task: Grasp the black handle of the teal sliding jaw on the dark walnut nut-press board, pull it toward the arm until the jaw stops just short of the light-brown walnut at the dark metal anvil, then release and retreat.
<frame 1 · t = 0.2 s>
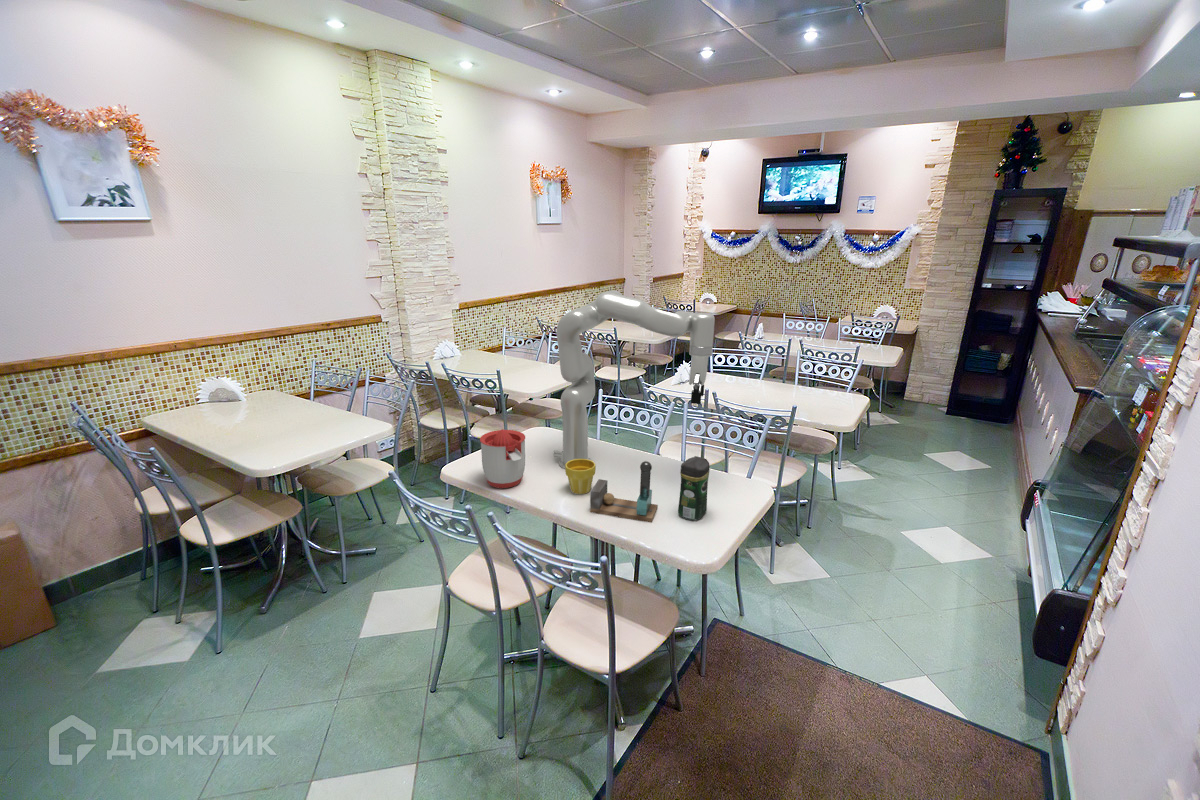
hand: (697, 399, 177), 31 cm above the table, tool pointing down, fingers open, 9 cm apart
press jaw: (645, 485, 160), point 10 cm above the table, slide at 0.0 cm
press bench: (624, 510, 165), on the table
citrus juicer: (506, 483, 183), on the table
coffee jar: (691, 514, 164), on the table
walnut: (608, 508, 167), resting on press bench
plant pot: (580, 490, 178), on the table
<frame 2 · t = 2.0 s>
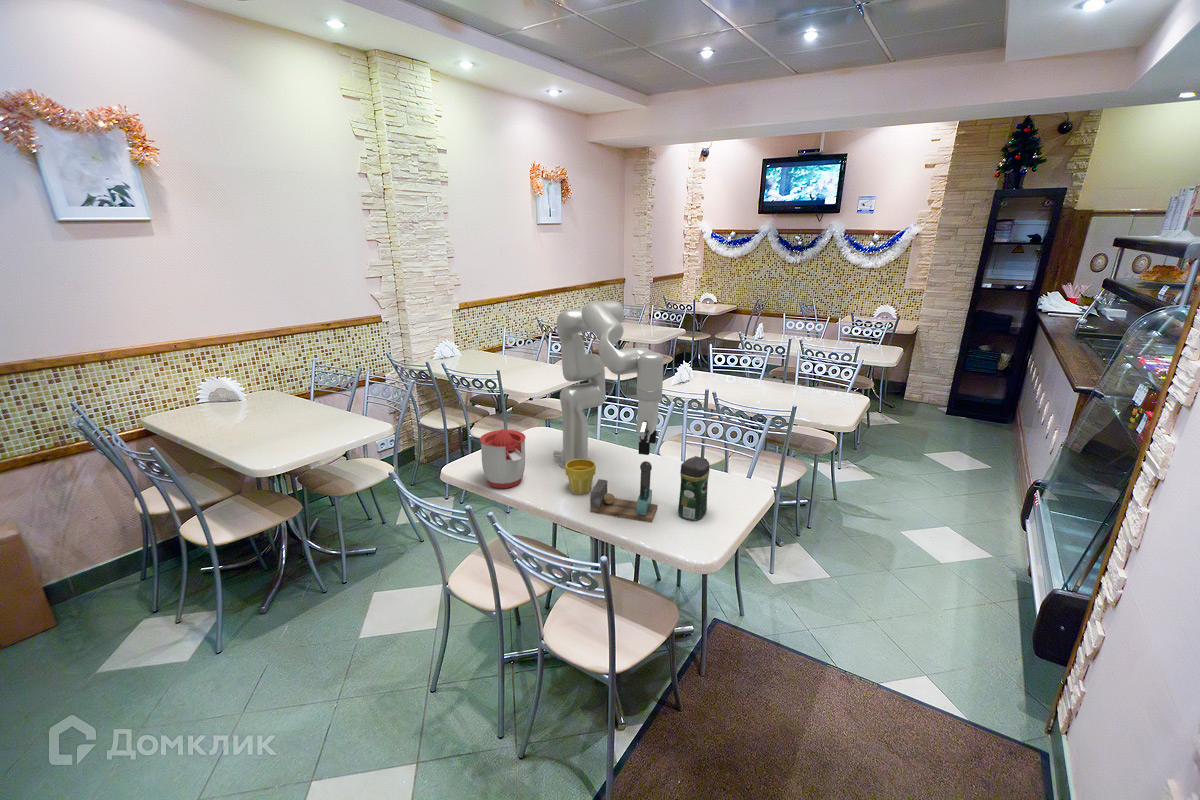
hand: (647, 448, 156), 23 cm above the table, tool pointing down, fingers open, 9 cm apart
nothing on the table moved.
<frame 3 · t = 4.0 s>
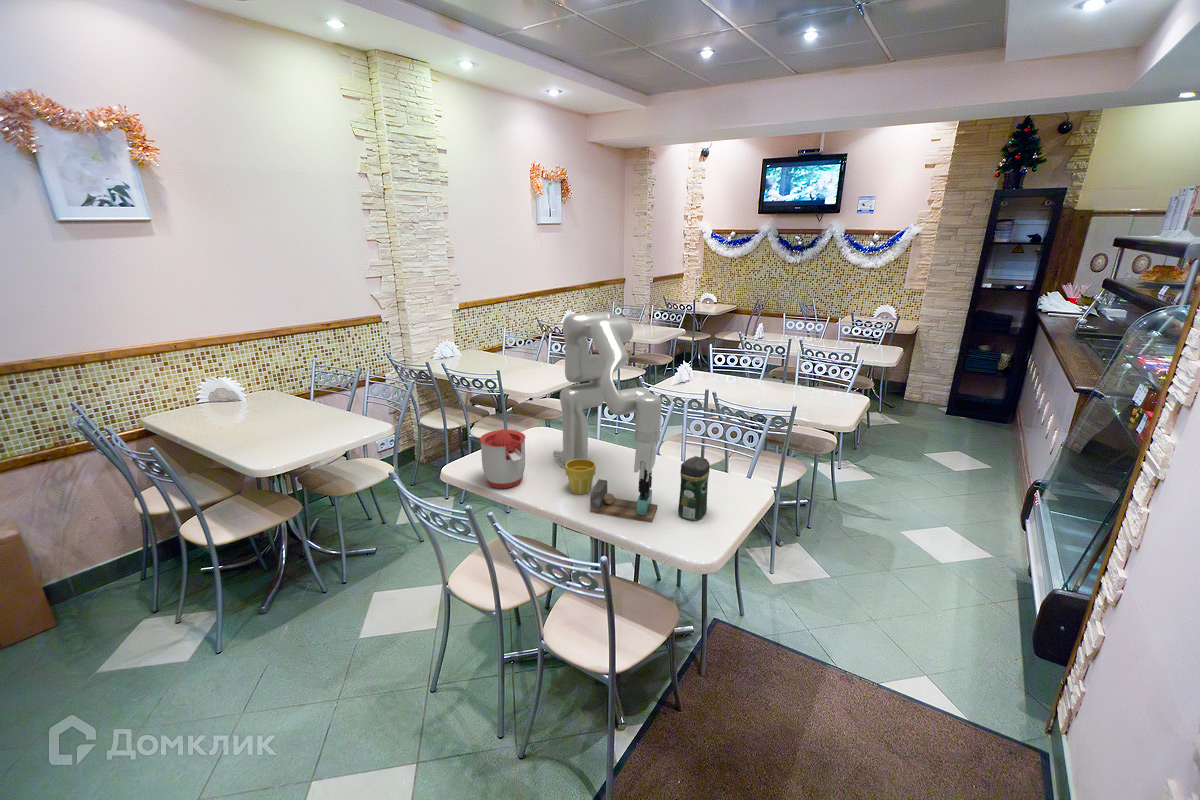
hand: (645, 489, 161), 9 cm above the table, tool pointing down, fingers closed on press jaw, 3 cm apart
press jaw: (645, 485, 160), point 10 cm above the table, slide at 0.0 cm, touching gripper
everything else where it was.
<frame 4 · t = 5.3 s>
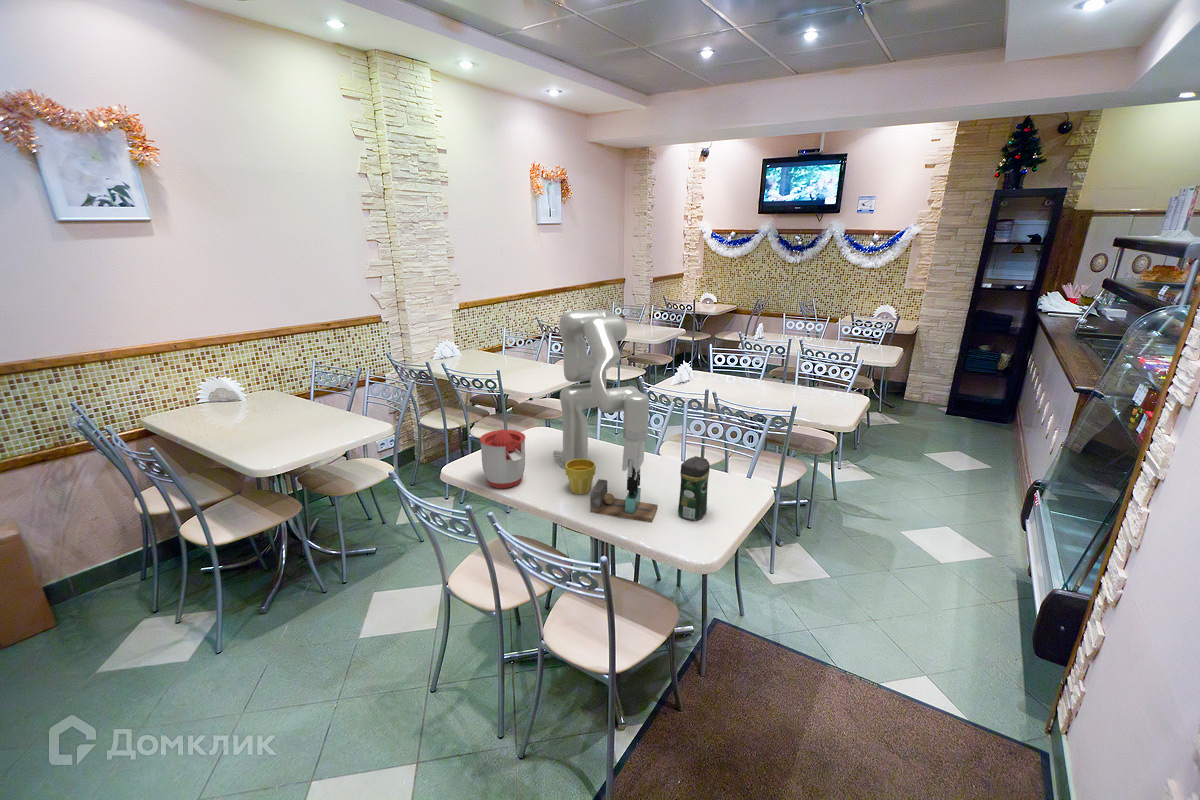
hand: (633, 487, 162), 9 cm above the table, tool pointing down, fingers closed on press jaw, 3 cm apart
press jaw: (633, 483, 161), point 10 cm above the table, slide at 3.7 cm, touching gripper
everything else where it was.
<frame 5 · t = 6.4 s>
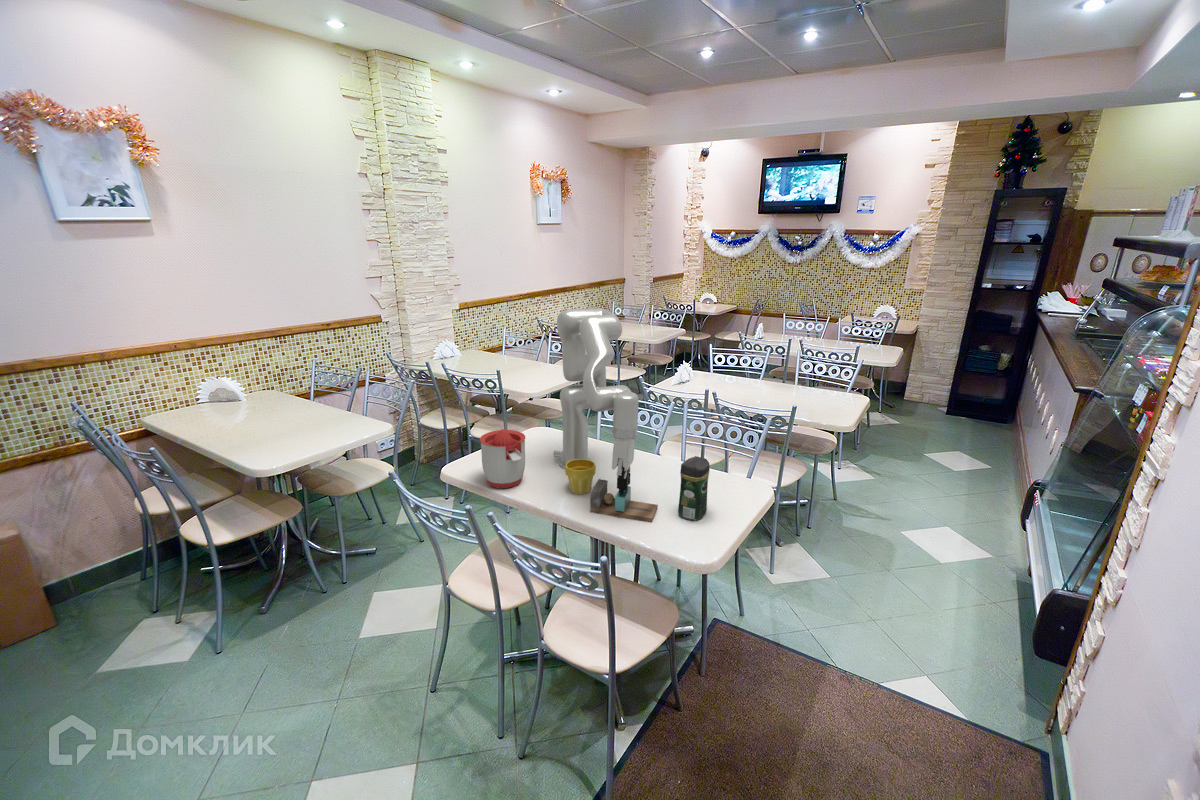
hand: (623, 485, 163), 9 cm above the table, tool pointing down, fingers closed on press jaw, 3 cm apart
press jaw: (623, 482, 162), point 10 cm above the table, slide at 7.0 cm, touching gripper
everything else where it was.
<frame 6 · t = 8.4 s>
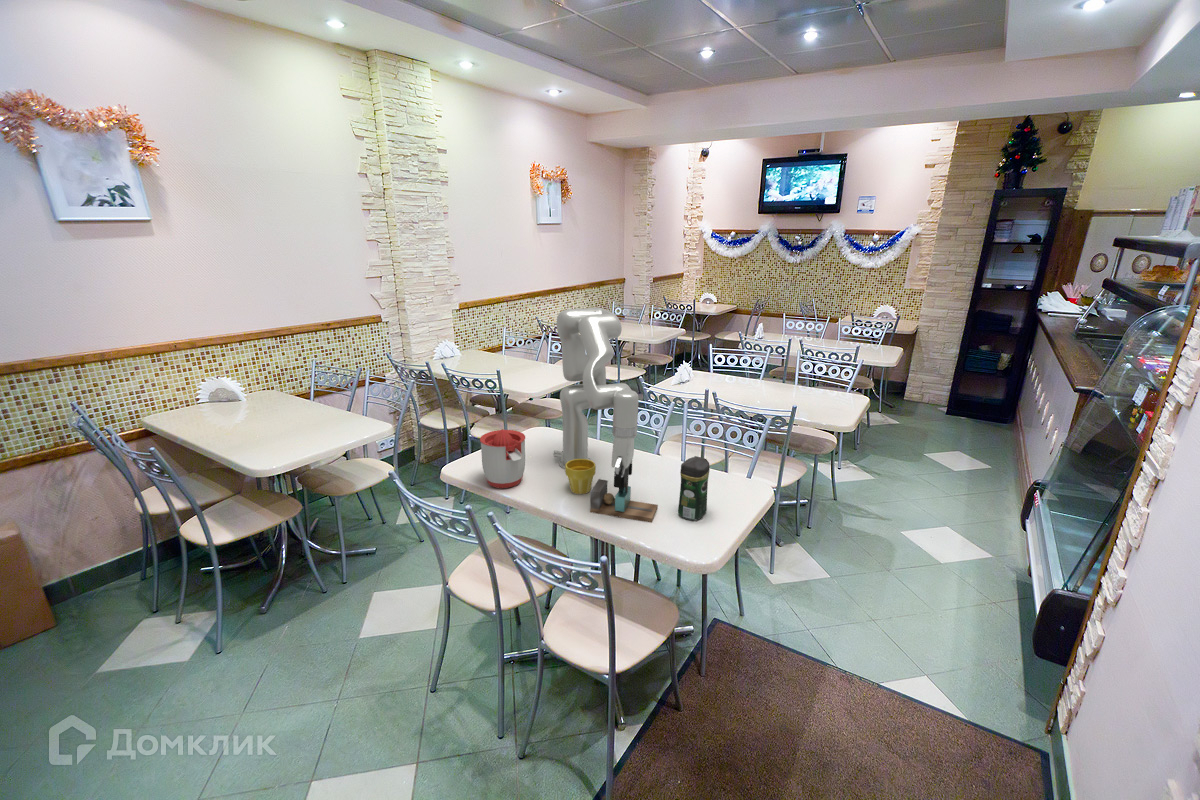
hand: (622, 480, 163), 10 cm above the table, tool pointing down, fingers open, 9 cm apart
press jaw: (623, 482, 162), point 10 cm above the table, slide at 7.0 cm
everything else where it was.
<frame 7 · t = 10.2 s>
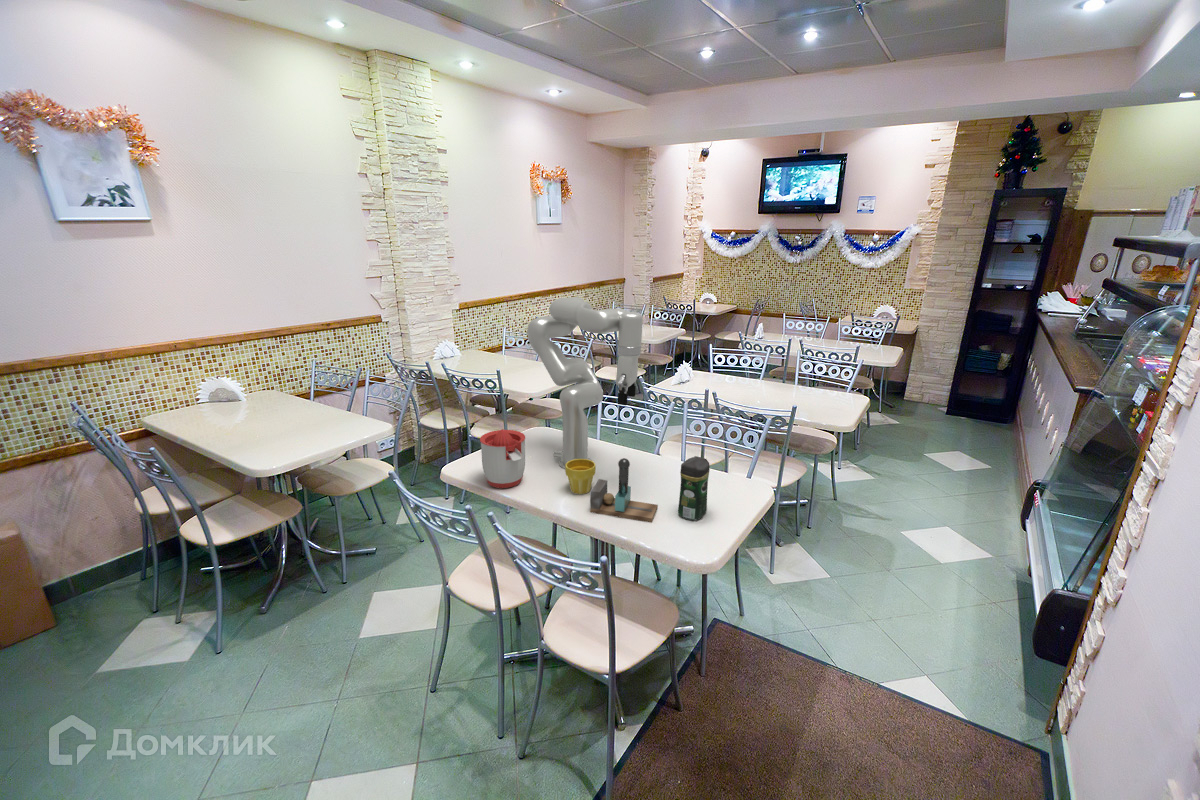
hand: (626, 400, 173), 32 cm above the table, tool pointing down, fingers open, 9 cm apart
nothing on the table moved.
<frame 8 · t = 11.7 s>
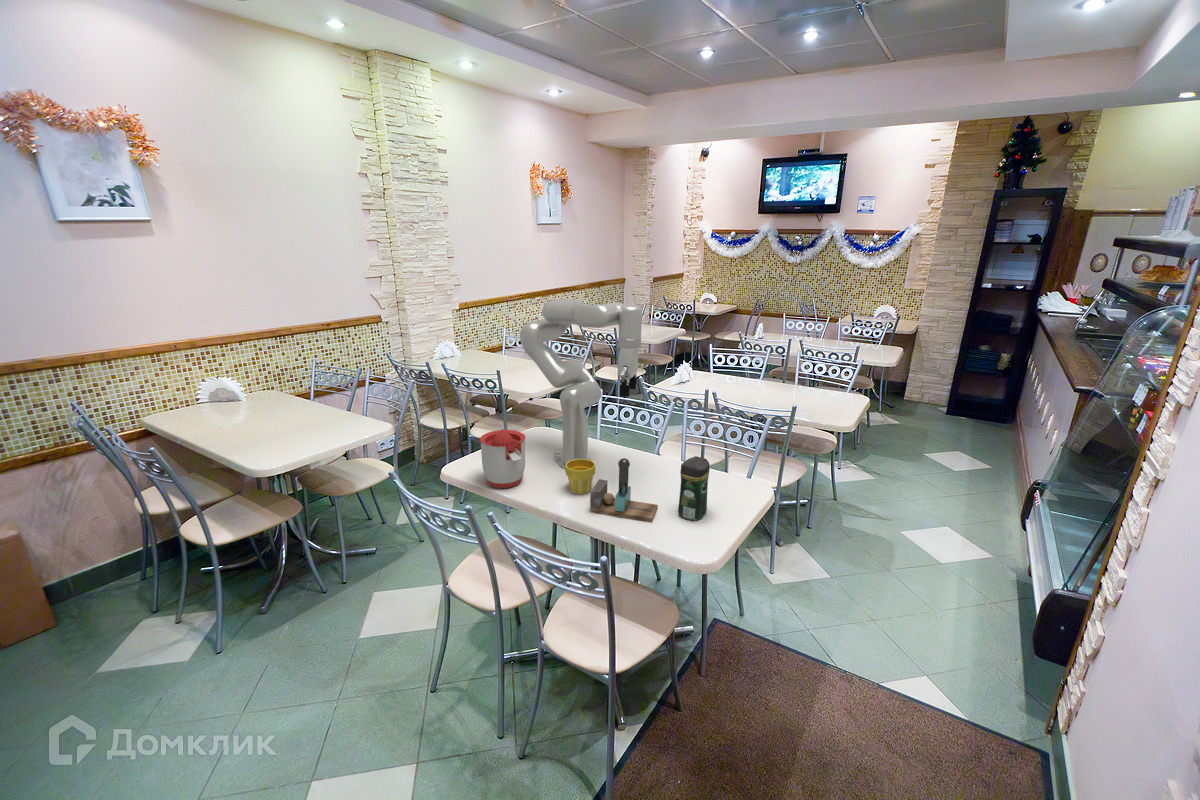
hand: (628, 392, 176), 33 cm above the table, tool pointing down, fingers open, 9 cm apart
nothing on the table moved.
at the end: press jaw slide at 7.0 cm; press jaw touching nothing; the gripper is holding nothing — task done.
